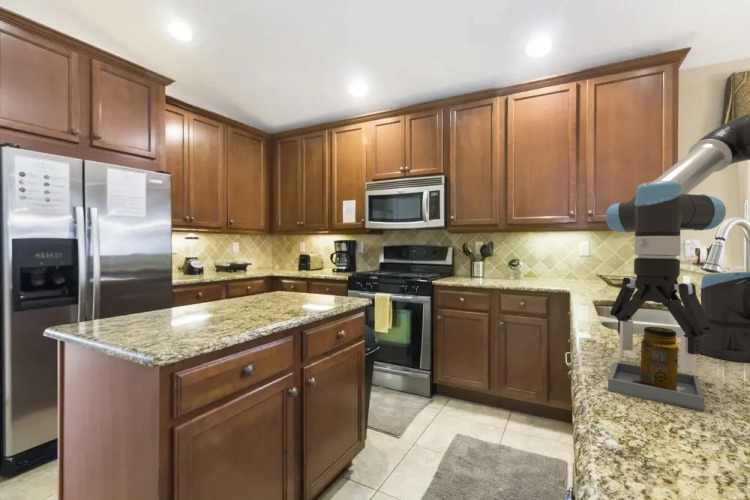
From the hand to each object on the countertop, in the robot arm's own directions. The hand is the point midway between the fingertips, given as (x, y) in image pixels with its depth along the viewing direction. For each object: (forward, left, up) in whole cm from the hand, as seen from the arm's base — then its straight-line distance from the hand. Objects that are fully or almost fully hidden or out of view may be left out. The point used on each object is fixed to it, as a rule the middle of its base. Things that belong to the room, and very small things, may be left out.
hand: (654, 359), depth 76 cm
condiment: (0, 0, -6) cm, 6 cm away
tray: (0, 0, -6) cm, 6 cm away
